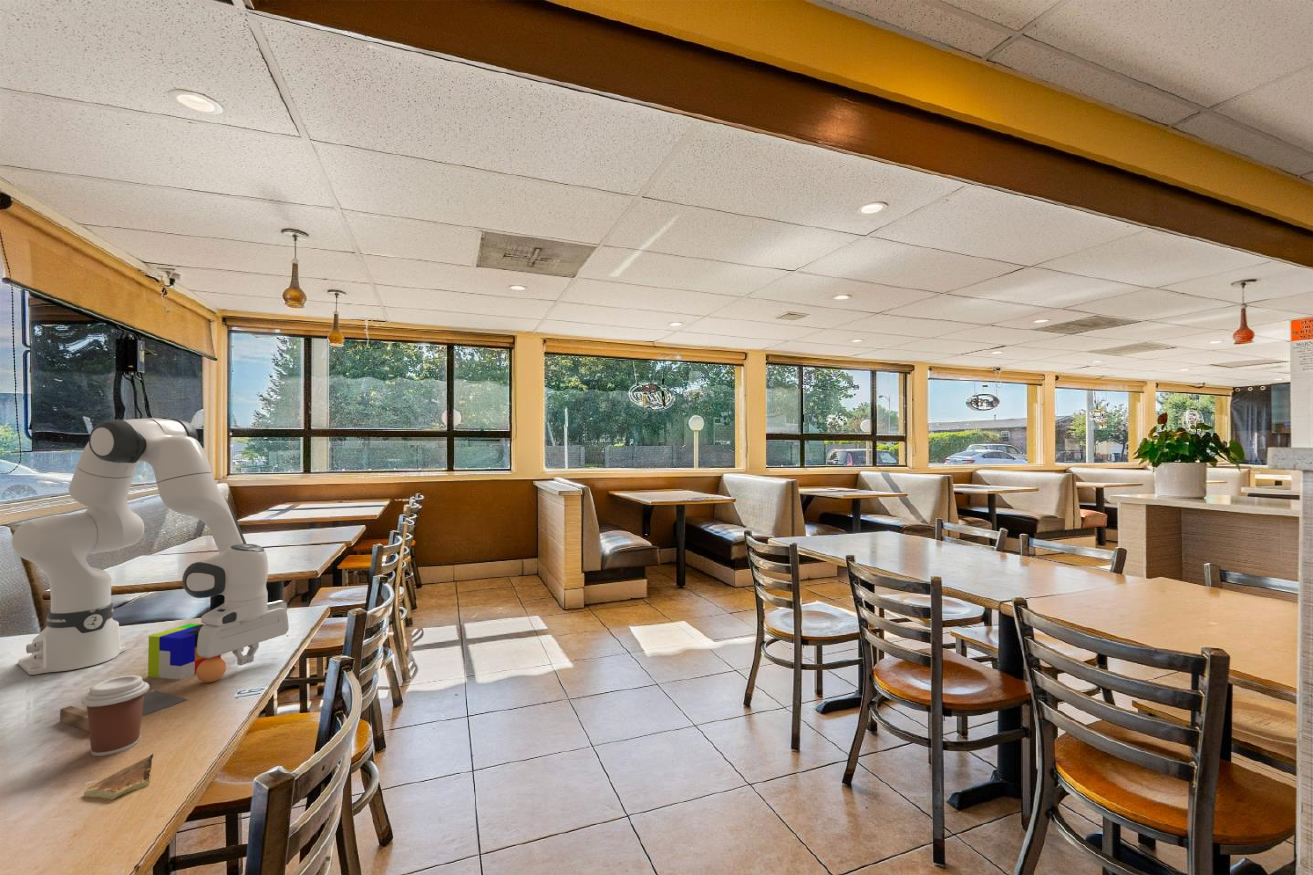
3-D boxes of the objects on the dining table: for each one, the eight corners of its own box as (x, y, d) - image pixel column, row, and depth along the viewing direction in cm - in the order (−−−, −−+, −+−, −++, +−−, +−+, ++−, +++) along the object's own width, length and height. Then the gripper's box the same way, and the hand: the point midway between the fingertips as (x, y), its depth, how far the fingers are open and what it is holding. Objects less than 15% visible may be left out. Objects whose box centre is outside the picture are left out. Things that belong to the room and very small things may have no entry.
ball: (190, 684, 131) (190, 660, 131) (216, 675, 137) (217, 652, 137) (205, 687, 129) (205, 663, 129) (231, 678, 134) (231, 655, 135)
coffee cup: (149, 729, 110) (150, 668, 110) (147, 747, 103) (148, 683, 104) (83, 745, 104) (84, 681, 104) (77, 766, 97) (78, 697, 98)
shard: (152, 761, 100) (152, 751, 100) (188, 765, 98) (188, 755, 98) (81, 799, 89) (81, 788, 89) (120, 804, 88) (120, 793, 88)
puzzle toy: (180, 680, 134) (181, 638, 134) (148, 676, 136) (148, 635, 136) (220, 664, 144) (221, 625, 144) (189, 661, 146) (190, 623, 146)
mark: (87, 713, 117) (87, 712, 117) (156, 690, 128) (156, 689, 128) (119, 724, 112) (119, 723, 112) (187, 699, 123) (187, 698, 123)
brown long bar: (60, 721, 113) (60, 709, 113) (70, 717, 115) (70, 705, 115) (97, 734, 108) (97, 721, 108) (108, 730, 110) (108, 717, 110)
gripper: (278, 597, 151) (278, 647, 151) (193, 618, 132) (192, 676, 132) (294, 599, 149) (293, 650, 149) (210, 621, 130) (209, 680, 130)
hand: (245, 663), depth 140 cm, fingers closed
